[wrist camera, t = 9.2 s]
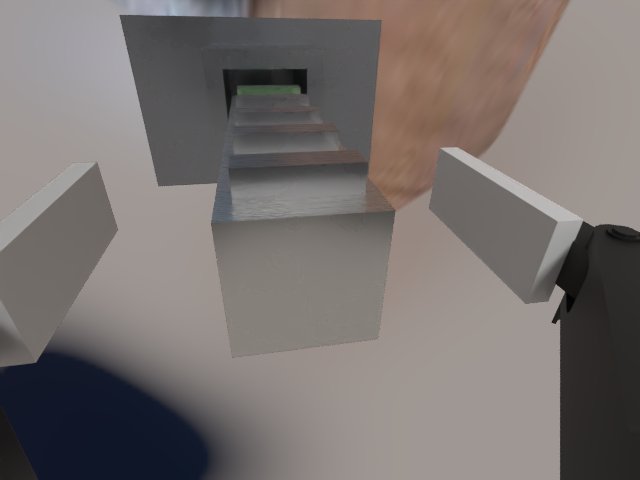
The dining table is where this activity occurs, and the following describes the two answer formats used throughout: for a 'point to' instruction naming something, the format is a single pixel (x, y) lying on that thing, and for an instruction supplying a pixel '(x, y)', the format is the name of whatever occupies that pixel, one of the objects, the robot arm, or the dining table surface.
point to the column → (296, 228)
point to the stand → (244, 80)
